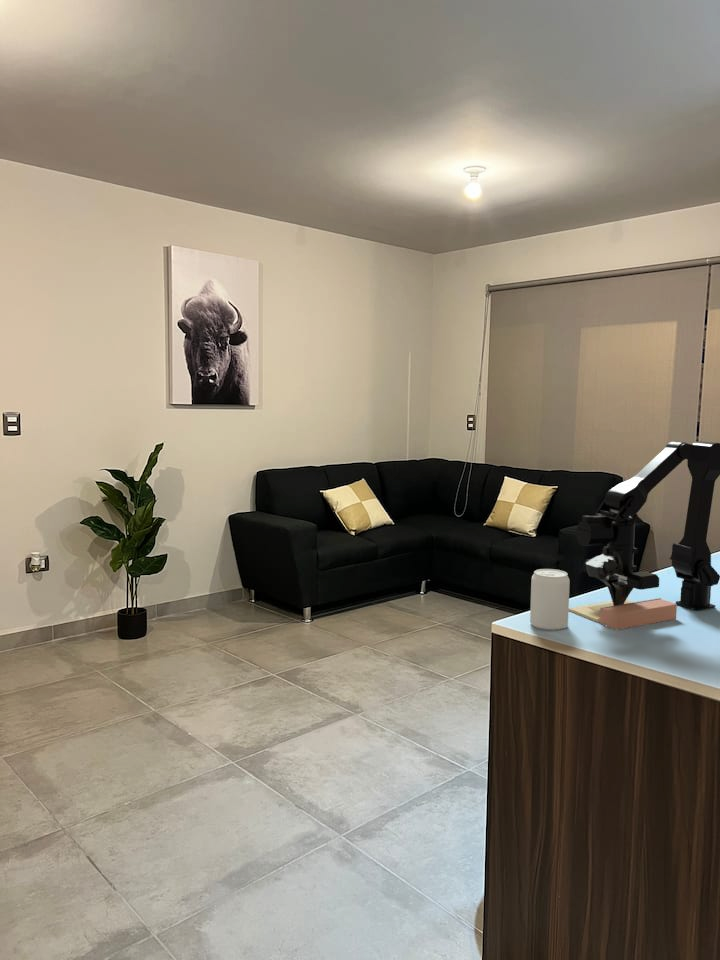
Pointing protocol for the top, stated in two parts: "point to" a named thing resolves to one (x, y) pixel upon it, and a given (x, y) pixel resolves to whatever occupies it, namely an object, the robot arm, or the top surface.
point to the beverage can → (549, 599)
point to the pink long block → (638, 613)
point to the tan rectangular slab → (593, 610)
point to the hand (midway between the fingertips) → (617, 609)
